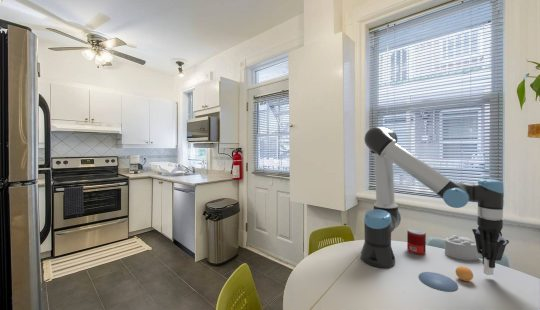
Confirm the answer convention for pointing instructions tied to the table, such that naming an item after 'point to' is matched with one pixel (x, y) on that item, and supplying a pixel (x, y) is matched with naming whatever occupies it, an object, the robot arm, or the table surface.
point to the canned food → (416, 241)
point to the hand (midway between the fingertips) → (488, 273)
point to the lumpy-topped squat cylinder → (461, 248)
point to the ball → (464, 273)
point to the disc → (438, 281)
